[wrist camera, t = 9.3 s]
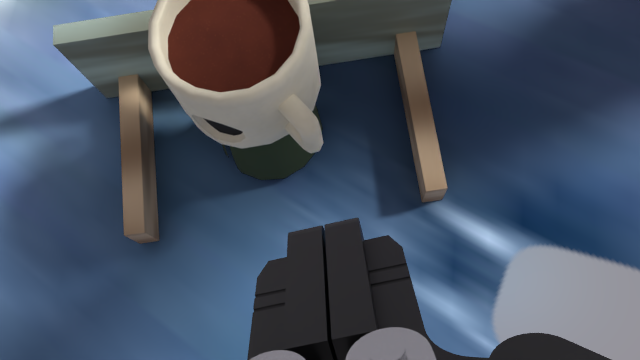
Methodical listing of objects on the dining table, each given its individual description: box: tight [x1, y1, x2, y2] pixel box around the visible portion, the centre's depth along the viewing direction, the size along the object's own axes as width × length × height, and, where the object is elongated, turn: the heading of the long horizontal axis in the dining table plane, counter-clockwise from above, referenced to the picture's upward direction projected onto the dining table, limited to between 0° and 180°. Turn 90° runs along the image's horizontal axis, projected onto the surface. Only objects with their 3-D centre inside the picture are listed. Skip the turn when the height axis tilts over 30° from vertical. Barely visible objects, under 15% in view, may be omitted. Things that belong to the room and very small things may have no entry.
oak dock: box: [53, 0, 452, 243], centre depth 34 cm, size 11×22×7 cm, turn 97°
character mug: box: [148, 0, 323, 180], centre depth 31 cm, size 11×7×13 cm, turn 41°
